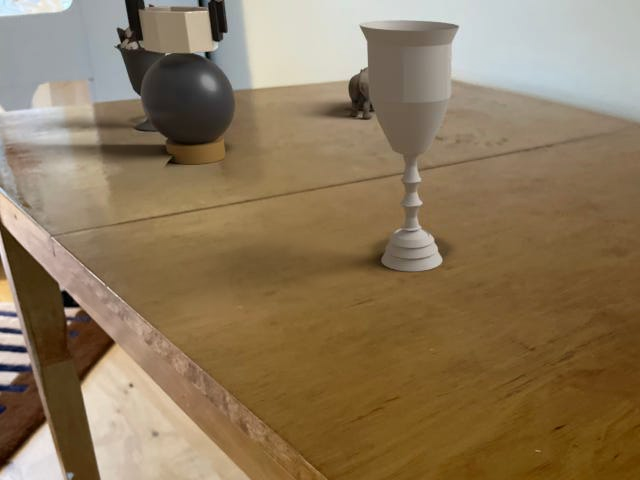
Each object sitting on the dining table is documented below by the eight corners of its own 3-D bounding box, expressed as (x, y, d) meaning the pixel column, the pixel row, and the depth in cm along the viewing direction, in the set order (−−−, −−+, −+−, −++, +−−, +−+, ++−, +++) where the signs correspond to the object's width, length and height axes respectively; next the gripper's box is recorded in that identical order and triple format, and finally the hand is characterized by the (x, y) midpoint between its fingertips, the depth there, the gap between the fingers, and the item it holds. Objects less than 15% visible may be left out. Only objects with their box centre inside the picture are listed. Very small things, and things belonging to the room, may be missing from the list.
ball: (142, 168, 86) (122, 58, 81) (161, 146, 95) (145, 45, 89) (235, 168, 87) (222, 59, 82) (246, 146, 96) (235, 47, 91)
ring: (140, 52, 82) (133, 11, 80) (155, 44, 88) (149, 5, 86) (211, 53, 83) (205, 12, 81) (221, 45, 89) (216, 6, 87)
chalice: (430, 240, 69) (430, 19, 60) (470, 265, 64) (477, 29, 55) (354, 254, 65) (343, 21, 57) (390, 282, 60) (385, 32, 52)
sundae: (189, 129, 103) (170, 5, 96) (135, 134, 100) (113, 6, 93) (175, 120, 108) (156, 1, 101) (123, 124, 105) (101, 2, 97)
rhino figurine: (385, 101, 124) (384, 61, 121) (374, 119, 112) (373, 76, 109) (360, 101, 124) (358, 61, 121) (346, 118, 112) (344, 74, 109)
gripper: (45, -163, 72) (86, 43, 81) (239, -154, 74) (259, 45, 83) (71, -155, 79) (106, 34, 87) (248, -147, 81) (266, 37, 89)
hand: (180, 38), depth 85 cm, fingers closed on ring, 7 cm apart
